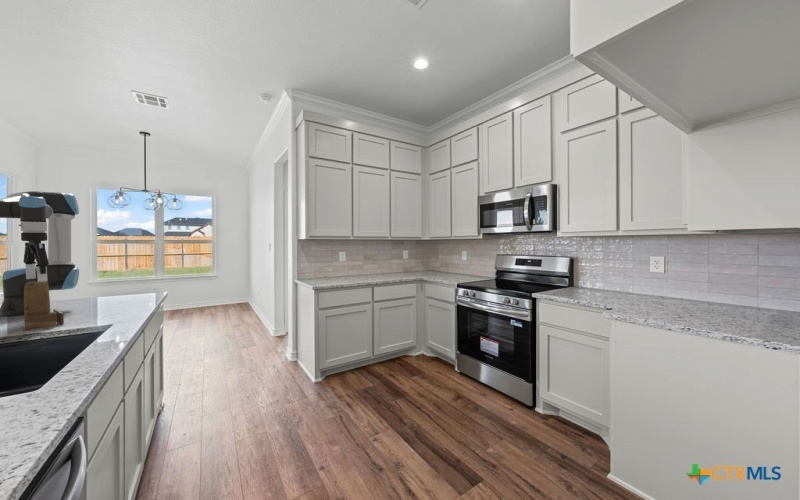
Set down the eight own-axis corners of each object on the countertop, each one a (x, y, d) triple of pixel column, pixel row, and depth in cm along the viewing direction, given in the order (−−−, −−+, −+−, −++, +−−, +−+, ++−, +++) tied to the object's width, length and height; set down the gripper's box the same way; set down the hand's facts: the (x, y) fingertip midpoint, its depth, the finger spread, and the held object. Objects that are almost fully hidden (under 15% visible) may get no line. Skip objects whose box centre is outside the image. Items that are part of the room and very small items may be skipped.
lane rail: (53, 319, 149) (53, 309, 149) (56, 319, 150) (55, 309, 150) (61, 324, 142) (60, 313, 142) (63, 323, 142) (63, 313, 142)
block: (50, 326, 138) (48, 281, 137) (23, 330, 133) (21, 283, 132) (52, 321, 146) (50, 279, 145) (27, 324, 141) (25, 280, 140)
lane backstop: (25, 330, 133) (24, 316, 132) (56, 325, 140) (55, 312, 140) (25, 330, 132) (25, 316, 132) (57, 325, 139) (56, 312, 139)
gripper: (11, 231, 140) (14, 278, 141) (31, 232, 129) (34, 283, 130) (36, 231, 146) (38, 276, 148) (57, 232, 135) (60, 281, 136)
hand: (36, 280), depth 139 cm, fingers open, 13 cm apart
